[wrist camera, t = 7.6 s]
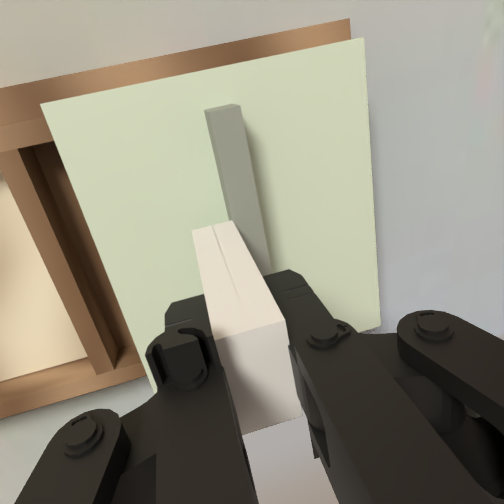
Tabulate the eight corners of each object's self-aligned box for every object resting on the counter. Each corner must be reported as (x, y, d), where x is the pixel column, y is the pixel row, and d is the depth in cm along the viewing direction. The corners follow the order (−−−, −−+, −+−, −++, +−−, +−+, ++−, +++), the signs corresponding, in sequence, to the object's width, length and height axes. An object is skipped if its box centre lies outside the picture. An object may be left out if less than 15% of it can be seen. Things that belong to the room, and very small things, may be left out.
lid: (154, 384, 18) (153, 421, 16) (44, 103, 13) (23, 106, 11) (374, 319, 19) (399, 345, 17) (356, 38, 14) (388, 31, 12)
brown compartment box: (-125, 441, 19) (-165, 490, 17) (-366, 163, 13) (-478, 179, 11) (361, 299, 22) (385, 325, 20) (339, 22, 16) (368, 11, 14)
